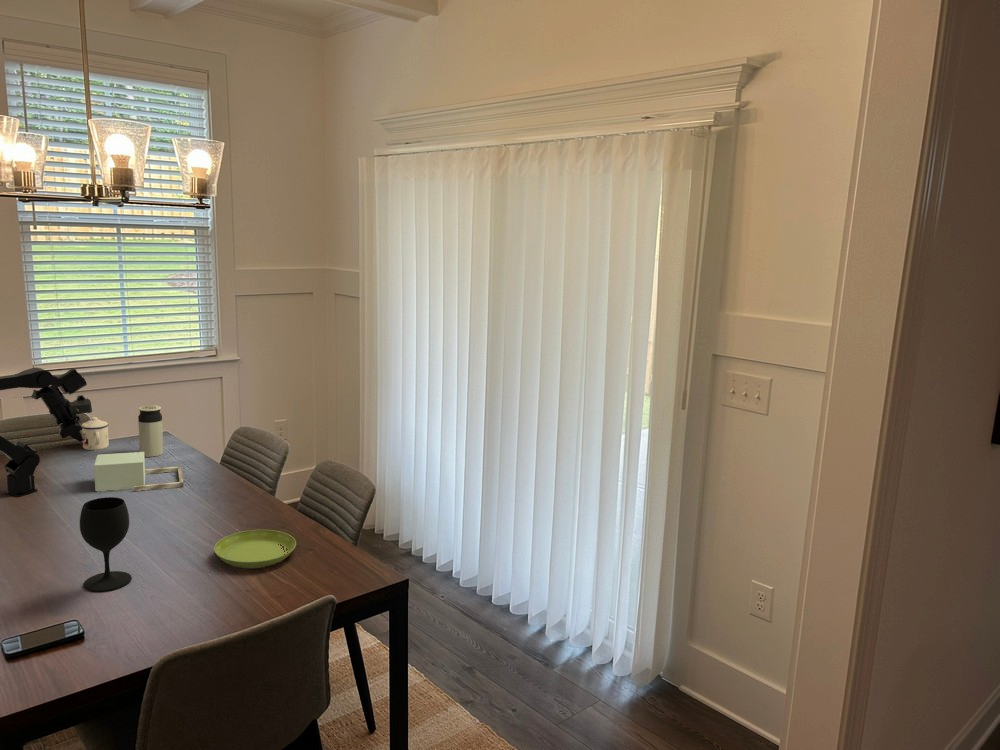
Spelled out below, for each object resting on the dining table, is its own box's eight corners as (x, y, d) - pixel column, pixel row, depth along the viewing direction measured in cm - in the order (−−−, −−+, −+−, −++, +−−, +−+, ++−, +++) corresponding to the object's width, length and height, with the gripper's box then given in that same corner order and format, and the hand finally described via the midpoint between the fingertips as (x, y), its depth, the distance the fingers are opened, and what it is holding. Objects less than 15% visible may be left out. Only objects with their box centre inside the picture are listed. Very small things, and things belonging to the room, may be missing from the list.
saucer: (210, 576, 183) (210, 564, 183) (218, 542, 203) (218, 531, 202) (296, 570, 189) (296, 558, 188) (296, 538, 208) (296, 527, 208)
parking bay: (134, 491, 237) (134, 487, 236) (135, 474, 253) (135, 470, 252) (183, 487, 243) (183, 482, 243) (181, 470, 259) (180, 466, 259)
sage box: (95, 492, 235) (94, 465, 233) (98, 480, 246) (97, 454, 244) (144, 488, 240) (143, 462, 239) (145, 477, 251) (144, 451, 249)
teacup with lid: (80, 445, 281) (79, 415, 279) (107, 442, 287) (106, 413, 284) (84, 453, 272) (83, 423, 270) (112, 450, 277) (110, 420, 275)
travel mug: (148, 458, 270) (146, 411, 266) (135, 454, 274) (133, 407, 270) (167, 453, 276) (166, 407, 273) (154, 449, 281) (153, 404, 277)
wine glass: (120, 568, 184) (116, 492, 181) (139, 582, 178) (136, 504, 174) (75, 582, 176) (71, 503, 173) (94, 596, 170) (89, 515, 166)
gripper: (85, 400, 231) (110, 439, 239) (78, 381, 245) (102, 418, 253) (48, 417, 227) (75, 456, 235) (44, 397, 241) (69, 434, 249)
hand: (81, 440), depth 243 cm, fingers closed
